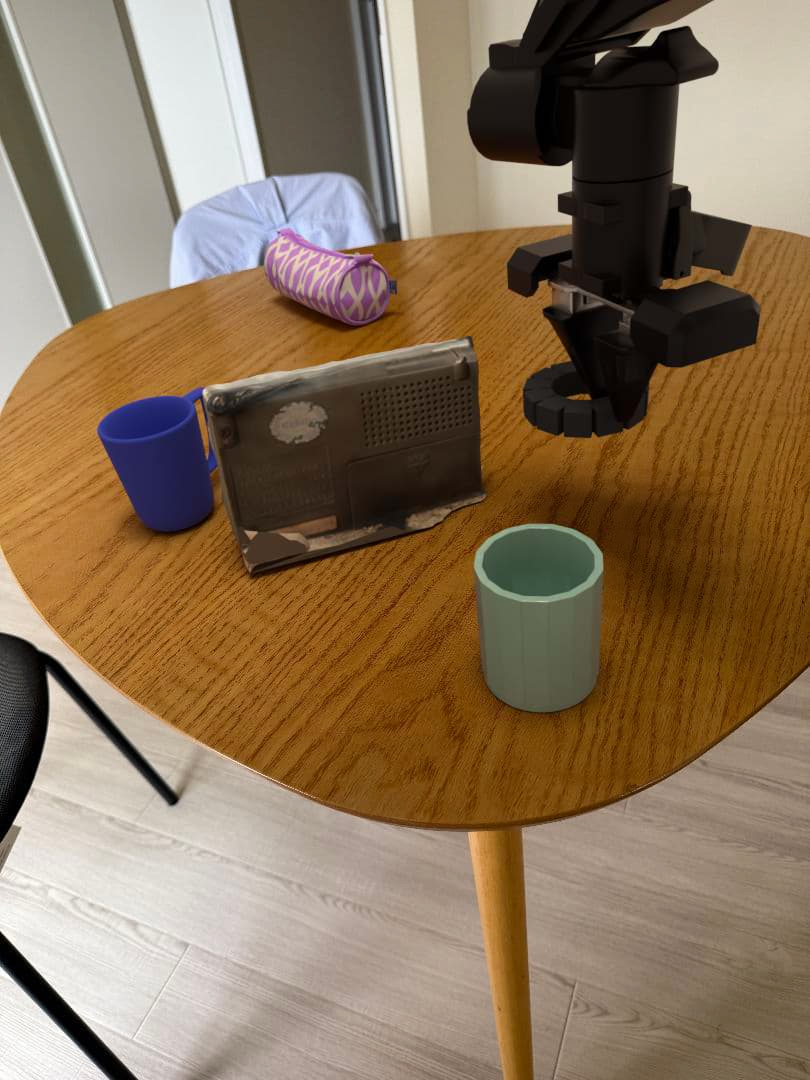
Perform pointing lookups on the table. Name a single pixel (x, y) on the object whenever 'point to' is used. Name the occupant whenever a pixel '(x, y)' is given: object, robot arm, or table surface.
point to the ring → (571, 405)
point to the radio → (347, 450)
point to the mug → (162, 459)
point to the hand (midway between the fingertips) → (613, 413)
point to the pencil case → (328, 279)
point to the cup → (539, 615)
